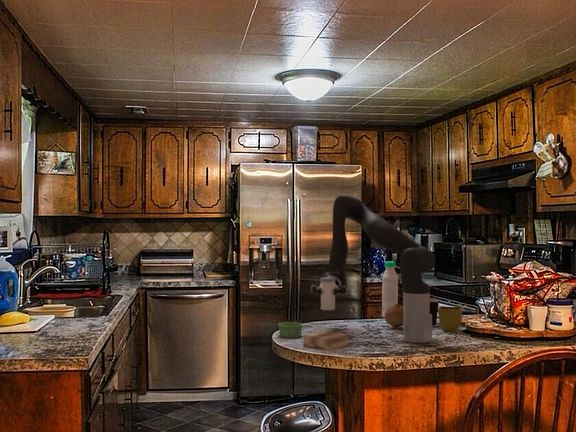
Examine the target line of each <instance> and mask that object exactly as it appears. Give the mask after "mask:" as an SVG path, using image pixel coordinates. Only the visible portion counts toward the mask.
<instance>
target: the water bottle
mask: <svg viewBox="0 0 576 432" xmlns="http://www.w3.org/2000/svg"><path fill="white" fill-rule="evenodd" d="M384 268H385V271H384V272H383V274H382V276H381V280H382V283H381V284H382V286H381V298H382V301H381V308H382V310H381V317H382V318H384V319H386V318H385V313H386V311H387V309H388V308H390V307H392V306H394V304H396V303H398V300H399V299H398V297H399V283H398V280H399V277H398V274H397V272H396V270H395V268H396V262H395V261H385V262H384ZM398 304H399V303H398Z"/></svg>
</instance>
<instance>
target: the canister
mask: <svg viewBox="0 0 576 432" xmlns="http://www.w3.org/2000/svg"><path fill="white" fill-rule="evenodd" d="M320 285H321V295H320V310H322V311H334V310H336V296H335V295H334V288H335V278H322V277H320Z"/></svg>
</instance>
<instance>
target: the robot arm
mask: <svg viewBox="0 0 576 432" xmlns="http://www.w3.org/2000/svg"><path fill="white" fill-rule="evenodd" d="M347 219H348V220H352V221H354V222H356V223H357V224H358V225H360V227H362V228H363V229H364V232H365V234H366V236H367V237H368V238H369V239H370V240H371V241H373V242H374V243H375V244H377V245H378V246H380V247H382V248H384V249H386V250H388V251H392V252H394V253H397V254H398V255H400V256H401V257H400V261H399V262H400V265H399V266H400V283H401V285H402V287H403V291H402V292H403V295H402V296H403V299H402V300H403V301H402V302H403V303H402V304H403V305H402V306H403V326H402V327H403V330H402V331H403V332H402V335H403V336H402V337H403V341H405V342H407V343H416V344H426V343H431V342H432V341H433V326H432V314H430V299H431V295H430V294H431V287H430V285H429V284H428V283H426V282H424V280H423V278H422V276H423V275H422V274H424V273H429V272H431V271H432V270H433V269H434V267H435V266H436V259H435V256H434V254H433V252H432V251H431V250H430V249H428V248H427V247H425V246H424V245H421V244H420V243H419V242H416V241H415V240H413V239H412V238H410V237H409V236H407V235H406V234H404V233H403V232H402V231H400V230H399V229H398V228H397V227H395V226H394V225H393V224H392V223H390V222H388V221H387V220H386V219H385V218H383V217H381V216H379V215H378V214H376V213H375V212H373V211H372V210H370V209H369V207H367V205H366V204H364V203H363V202H362V200H360V199H359V198H357V197H355V196H352V195H351V196H350V195H348V194H344V193H343V194H340V195H338V196H336V198H335V199H334V202H333V206H332V239H331V248H330V253H329V259H328V265H329V266H330V267H331V268H335V269H336V270H338V271H339V273H334V272H328V271H327V272H325V273H323V274H322V276H321V278H335V288H334V295H335V297H337V296H338V295H344V294H348V293H349V286H348V281H347V273H346V272H347V271H346V267H347V260H348V253H349V243H348V239H347V234H346V220H347ZM310 288H311V289H310V292H311V293H312V294H318V296H319V295H320V296H321V284H319V285H318V286H317V285H314V284H311V285H310Z"/></svg>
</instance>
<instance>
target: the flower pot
mask: <svg viewBox="0 0 576 432" xmlns="http://www.w3.org/2000/svg"><path fill="white" fill-rule="evenodd" d="M437 317H438V322H439V325H440V327H441V330H442V331H443V332H451V333H453V332H454V333H456V332H458V331H459V329H460V326H461V325H462V319H463V306H449V305H448V306H447V305H446V306H445V305H440V306H438V314H437Z"/></svg>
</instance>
